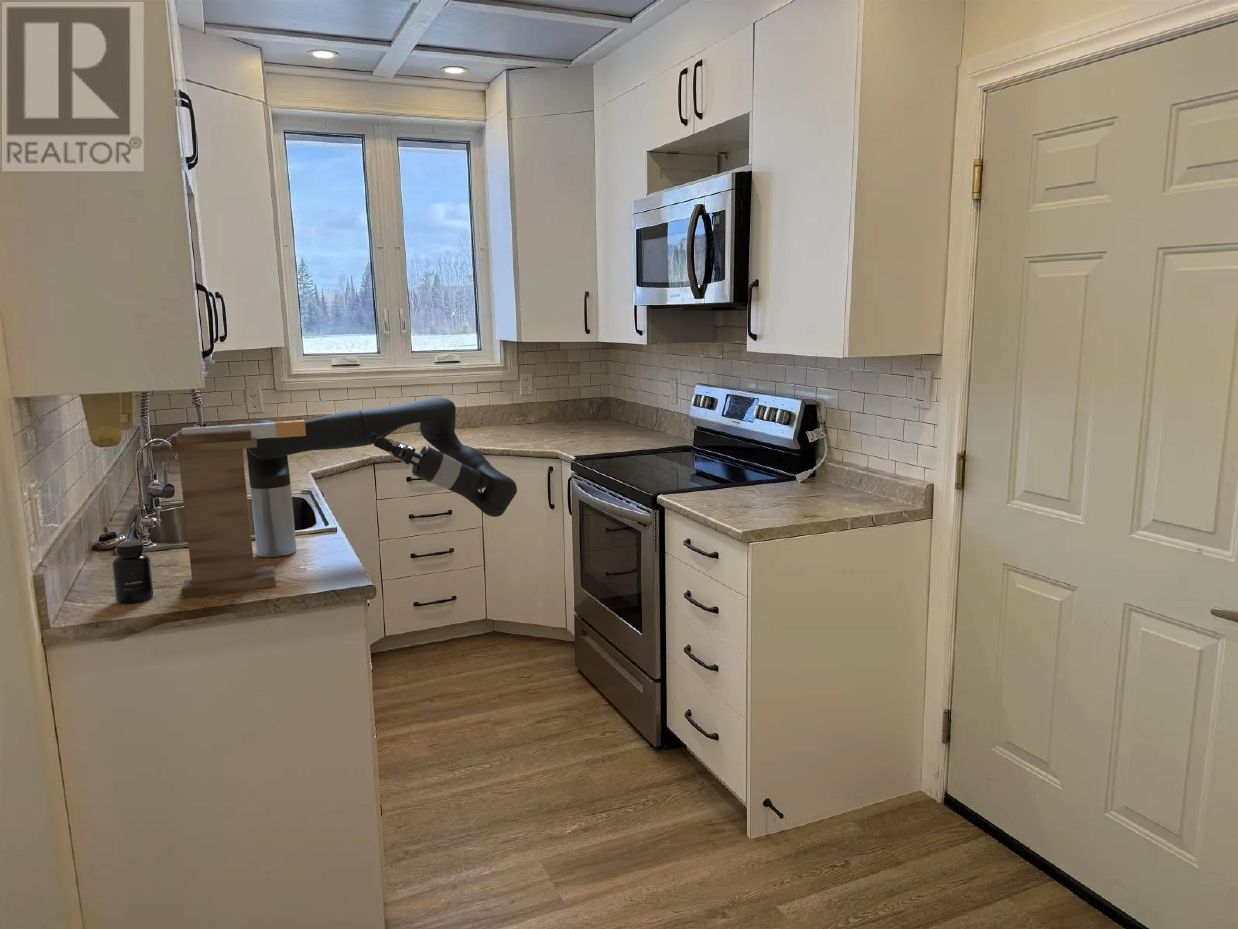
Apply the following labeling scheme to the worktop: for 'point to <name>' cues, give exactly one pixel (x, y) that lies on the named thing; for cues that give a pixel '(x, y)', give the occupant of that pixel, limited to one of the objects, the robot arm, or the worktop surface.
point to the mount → (217, 514)
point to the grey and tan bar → (255, 429)
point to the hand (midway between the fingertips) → (372, 438)
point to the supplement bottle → (132, 574)
